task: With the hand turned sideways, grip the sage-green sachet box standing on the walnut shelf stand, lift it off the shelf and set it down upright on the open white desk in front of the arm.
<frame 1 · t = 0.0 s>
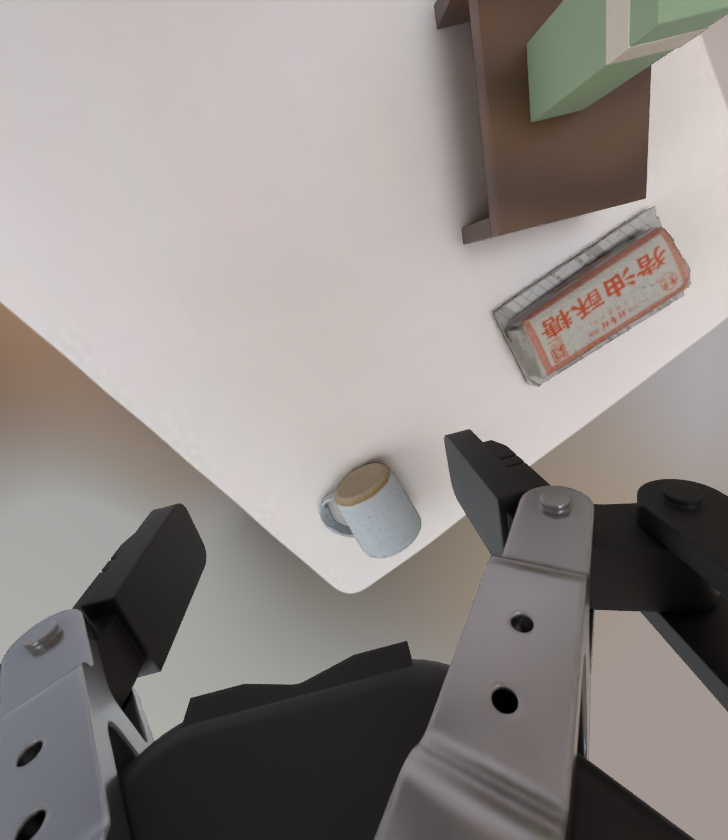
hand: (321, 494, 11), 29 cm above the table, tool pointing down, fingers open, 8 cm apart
sachet box: (555, 77, 26), point 8 cm above the table, touching shelf stand
ceramic mug: (363, 496, 46), on the table
shelf stand: (514, 120, 33), on the table
packaged product: (581, 302, 40), on the table
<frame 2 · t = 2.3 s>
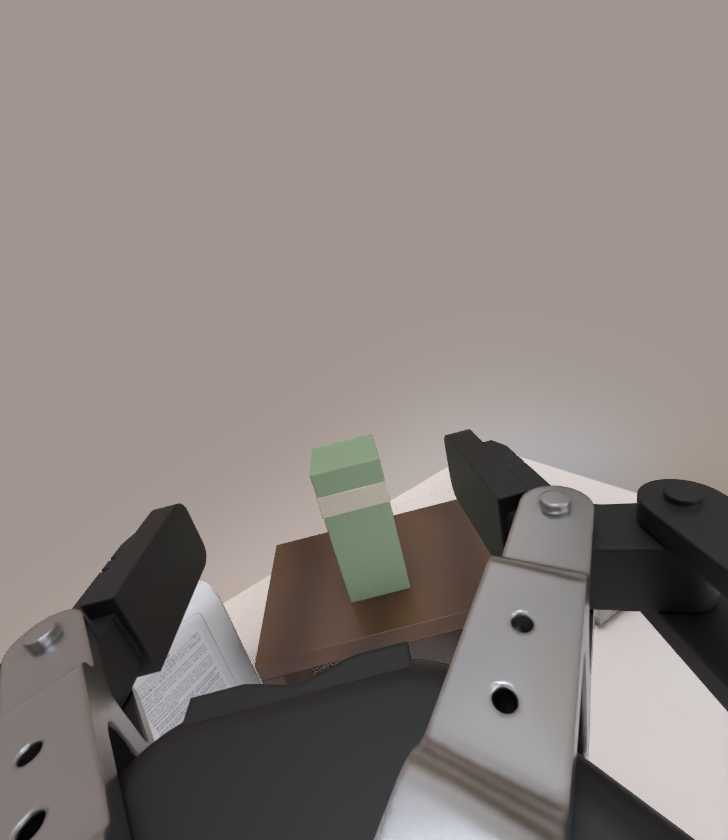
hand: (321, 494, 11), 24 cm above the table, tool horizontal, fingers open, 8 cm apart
sachet box: (377, 575, 29), point 8 cm above the table, touching shelf stand
shelf stand: (395, 635, 33), on the table
photo printer: (206, 733, 29), on the table
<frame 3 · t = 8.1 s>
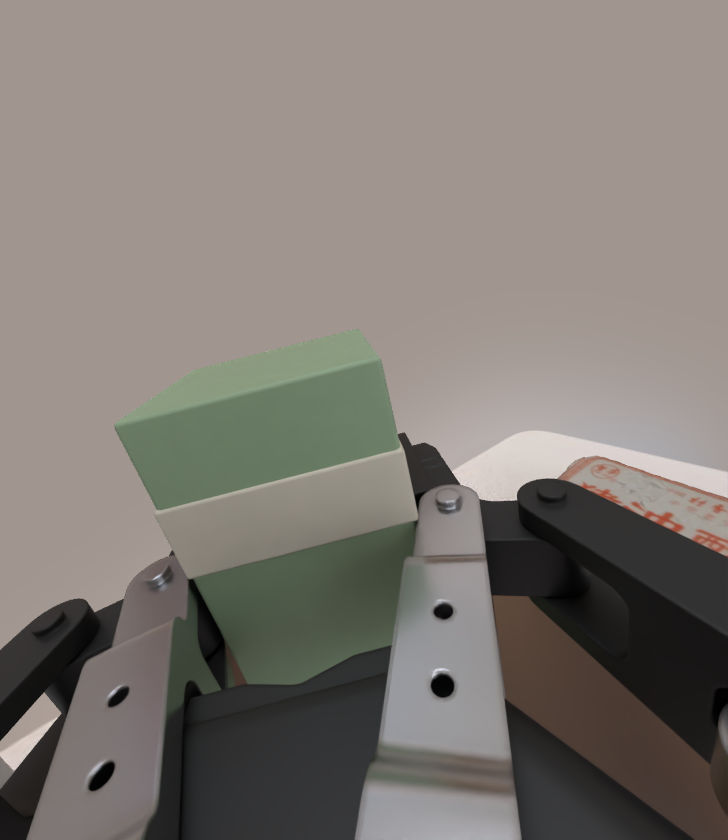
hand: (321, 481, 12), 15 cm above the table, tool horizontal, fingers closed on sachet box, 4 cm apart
sachet box: (376, 697, 12), point 8 cm above the table, touching gripper, shelf stand
shelf stand: (414, 794, 16), on the table
packaged product: (685, 583, 21), on the table
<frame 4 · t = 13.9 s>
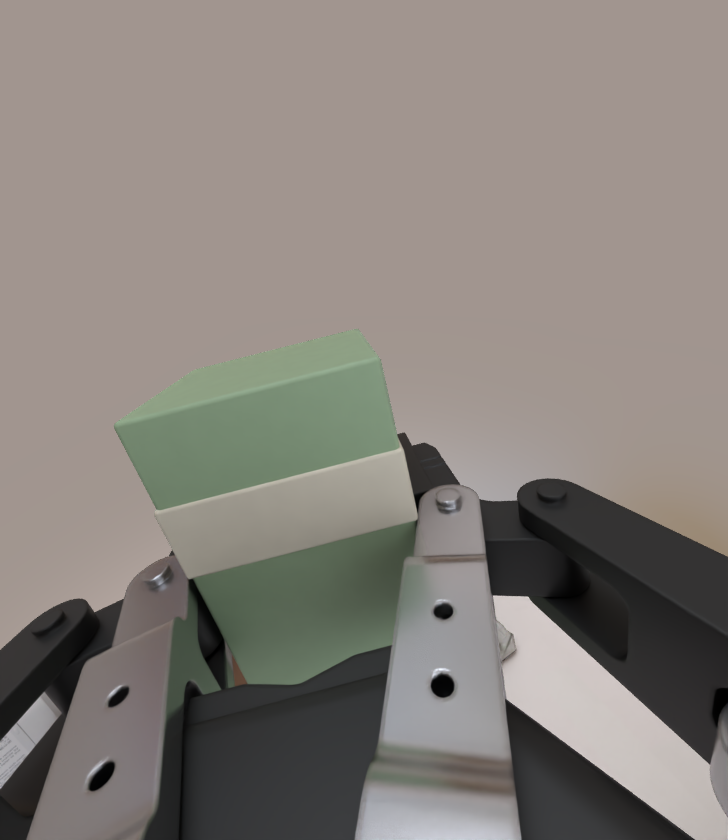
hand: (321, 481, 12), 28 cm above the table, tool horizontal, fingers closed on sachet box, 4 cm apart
sachet box: (376, 696, 12), point 21 cm above the table, touching gripper
packaged product: (418, 612, 39), on the table
photo printer: (35, 825, 29), on the table
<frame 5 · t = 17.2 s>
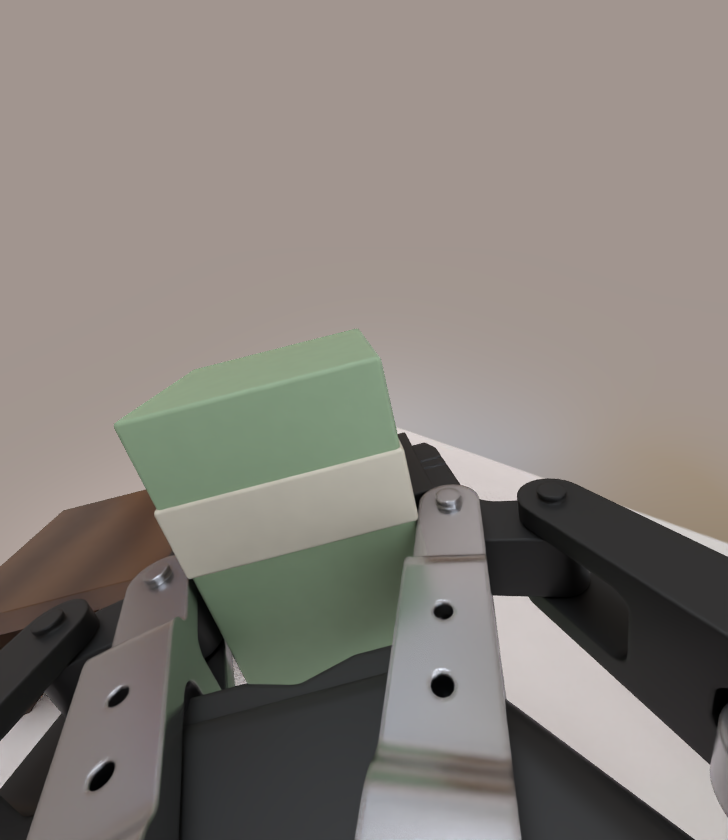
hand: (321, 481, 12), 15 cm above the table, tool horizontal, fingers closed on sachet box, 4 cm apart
sachet box: (376, 696, 12), point 9 cm above the table, touching gripper
shelf stand: (176, 607, 30), on the table
when the fingers open (6 cm above the table, at t = 19.9 s): sachet box stays where it is, on the table.
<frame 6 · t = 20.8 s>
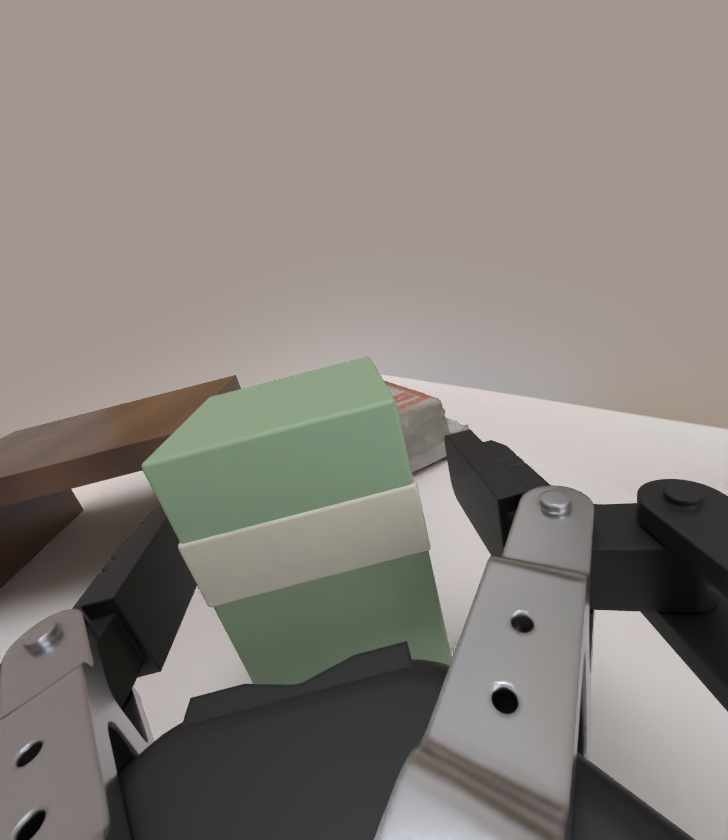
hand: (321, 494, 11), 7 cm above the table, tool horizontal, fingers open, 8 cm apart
sachet box: (385, 711, 12), on the table
shelf stand: (135, 530, 27), on the table
packaged product: (363, 439, 33), on the table
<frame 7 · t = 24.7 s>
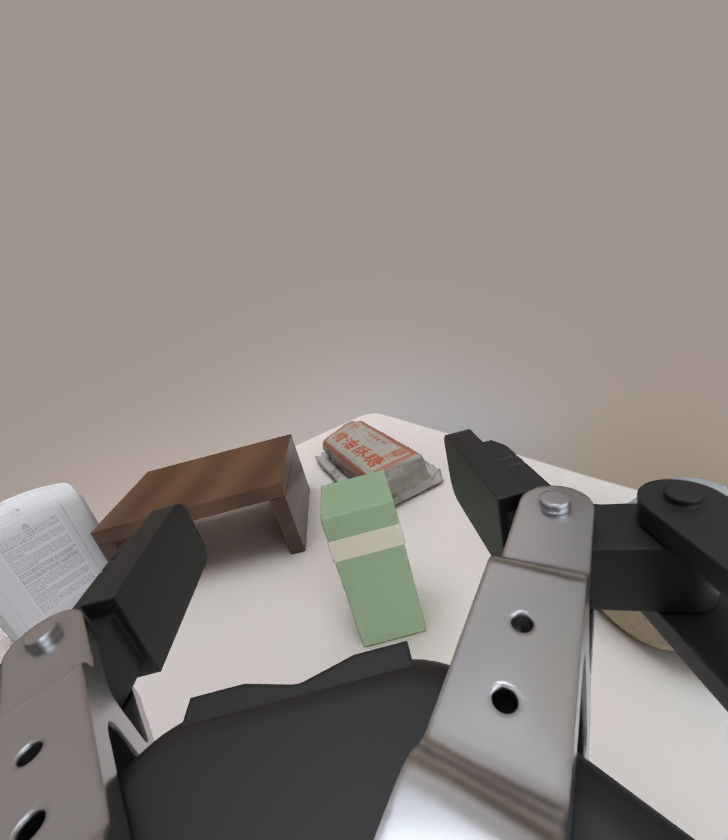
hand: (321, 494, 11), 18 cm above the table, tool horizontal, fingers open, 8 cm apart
sachet box: (390, 615, 28), on the table
ceramic mug: (694, 623, 23), on the table
shelf stand: (231, 535, 43), on the table
packaged product: (373, 473, 49), on the table
photo printer: (74, 601, 39), on the table
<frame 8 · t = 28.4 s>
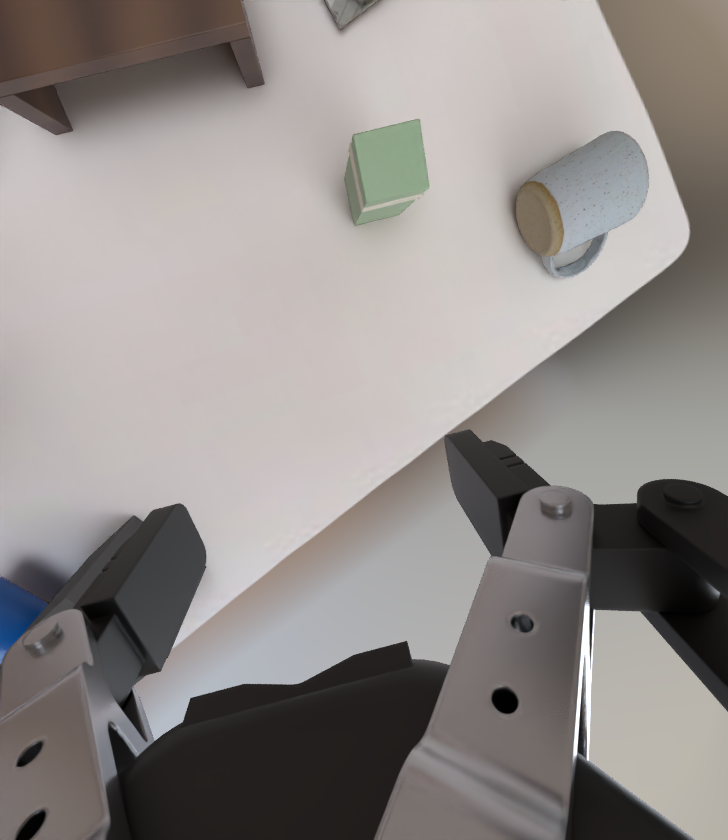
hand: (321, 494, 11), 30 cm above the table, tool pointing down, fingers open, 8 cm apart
sachet box: (372, 196, 35), on the table
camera: (88, 587, 47), on the table
ceramic mug: (556, 221, 38), on the table
shelf stand: (128, 17, 29), on the table
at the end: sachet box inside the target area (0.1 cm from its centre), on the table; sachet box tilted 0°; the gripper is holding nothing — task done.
